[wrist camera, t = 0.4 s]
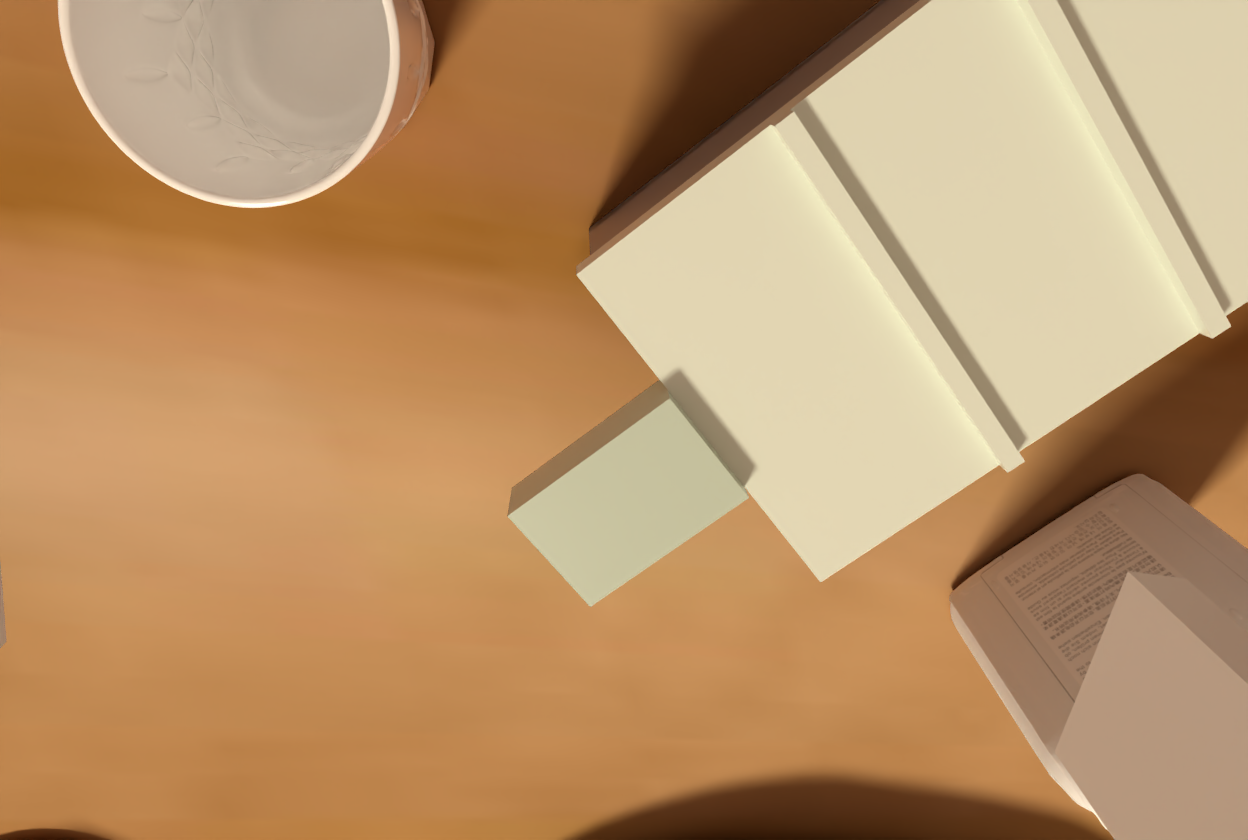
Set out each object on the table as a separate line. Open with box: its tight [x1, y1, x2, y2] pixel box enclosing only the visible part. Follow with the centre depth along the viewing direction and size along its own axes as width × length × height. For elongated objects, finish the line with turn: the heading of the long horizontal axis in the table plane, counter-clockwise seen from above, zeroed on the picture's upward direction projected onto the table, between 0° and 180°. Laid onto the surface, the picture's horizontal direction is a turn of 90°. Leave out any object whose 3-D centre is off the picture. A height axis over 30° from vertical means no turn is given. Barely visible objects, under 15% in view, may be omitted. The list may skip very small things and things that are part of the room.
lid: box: [507, 0, 1248, 607], centre depth 28 cm, size 13×27×3 cm, turn 127°
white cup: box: [58, 0, 435, 208], centre depth 27 cm, size 8×8×10 cm
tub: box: [589, 0, 919, 255], centre depth 31 cm, size 12×20×7 cm, turn 127°
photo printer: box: [949, 474, 1248, 829], centre depth 34 cm, size 10×4×12 cm, turn 129°
